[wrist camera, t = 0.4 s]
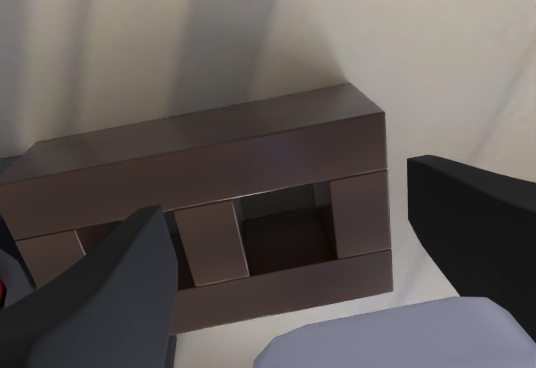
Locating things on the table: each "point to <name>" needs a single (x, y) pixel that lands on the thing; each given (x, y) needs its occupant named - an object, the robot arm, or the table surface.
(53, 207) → the stand
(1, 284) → the power button
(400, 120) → the table surface
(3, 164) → the control box
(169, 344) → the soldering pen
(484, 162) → the table surface
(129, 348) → the robot arm
